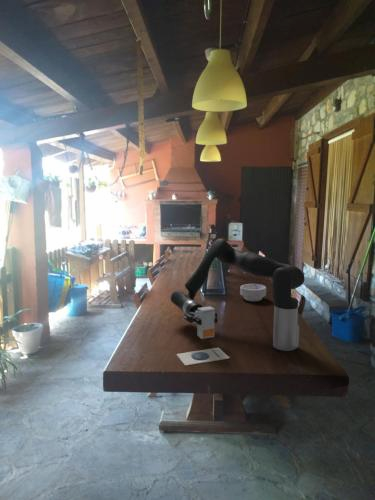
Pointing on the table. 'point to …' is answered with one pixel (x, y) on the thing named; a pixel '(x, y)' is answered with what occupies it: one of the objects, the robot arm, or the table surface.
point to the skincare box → (206, 322)
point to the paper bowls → (253, 292)
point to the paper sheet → (202, 356)
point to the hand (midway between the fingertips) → (208, 321)
